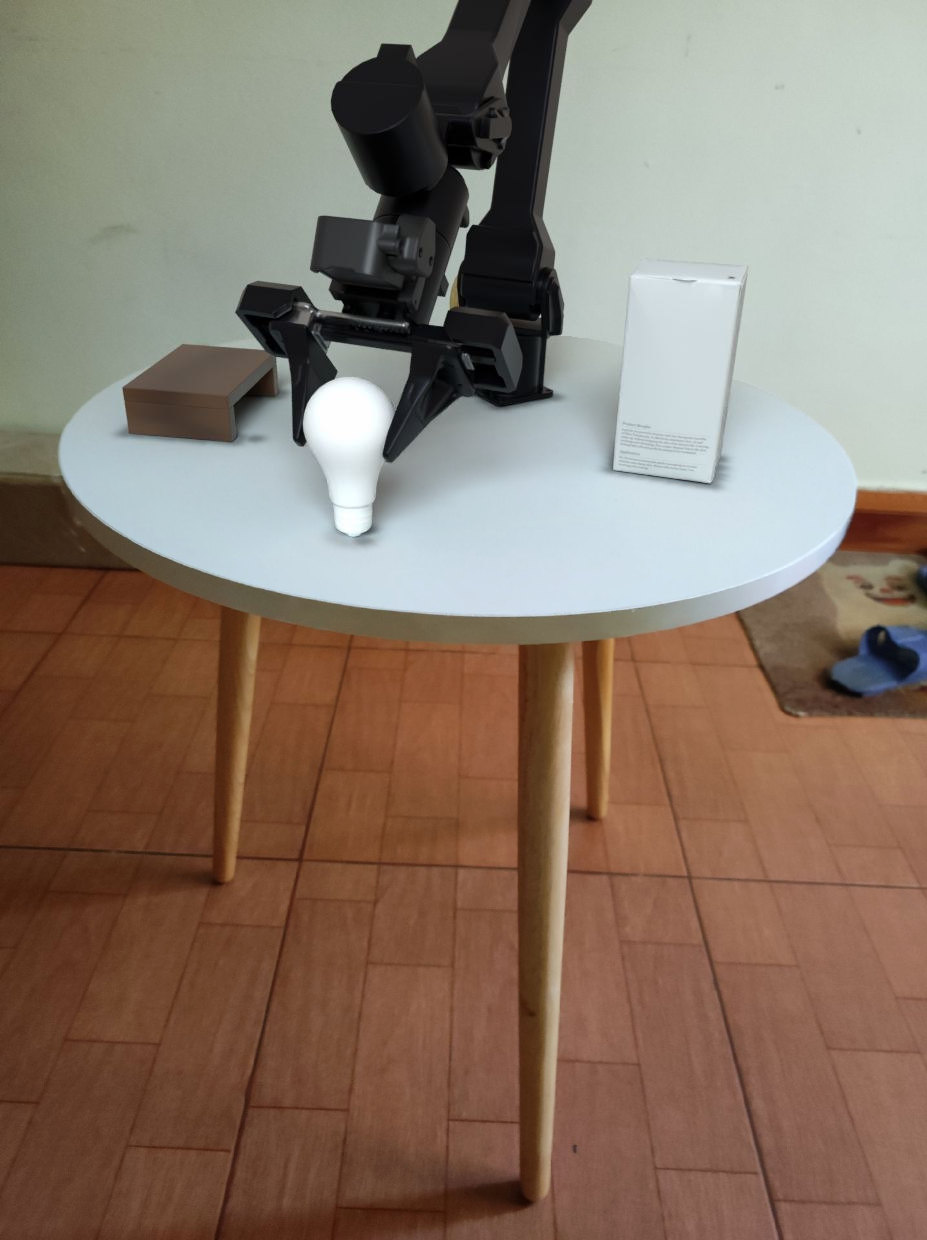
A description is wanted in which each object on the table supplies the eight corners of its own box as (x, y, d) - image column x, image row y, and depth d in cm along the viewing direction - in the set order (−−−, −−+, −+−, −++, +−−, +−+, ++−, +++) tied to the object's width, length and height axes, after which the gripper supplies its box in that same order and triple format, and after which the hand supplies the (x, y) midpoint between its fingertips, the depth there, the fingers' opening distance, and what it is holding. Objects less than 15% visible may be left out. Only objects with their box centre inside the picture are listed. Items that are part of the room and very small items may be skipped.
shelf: (278, 392, 94) (276, 350, 92) (231, 442, 83) (227, 395, 80) (187, 385, 95) (182, 343, 92) (128, 433, 84) (121, 386, 81)
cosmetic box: (721, 458, 83) (755, 264, 75) (711, 488, 78) (747, 282, 69) (622, 443, 85) (645, 253, 77) (606, 471, 80) (628, 270, 72)
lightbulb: (349, 508, 72) (345, 358, 67) (415, 532, 69) (417, 377, 64) (290, 537, 68) (280, 380, 62) (358, 564, 65) (353, 401, 59)
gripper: (238, 147, 62) (154, 369, 59) (520, 171, 57) (445, 416, 54) (304, 255, 73) (236, 448, 70) (549, 285, 68) (487, 495, 64)
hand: (341, 451), depth 64 cm, fingers closed on lightbulb, 6 cm apart
